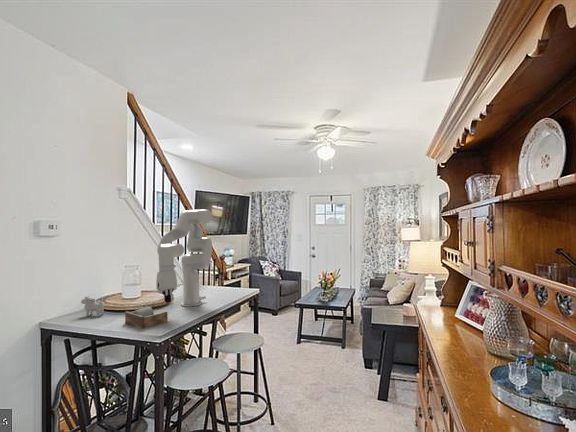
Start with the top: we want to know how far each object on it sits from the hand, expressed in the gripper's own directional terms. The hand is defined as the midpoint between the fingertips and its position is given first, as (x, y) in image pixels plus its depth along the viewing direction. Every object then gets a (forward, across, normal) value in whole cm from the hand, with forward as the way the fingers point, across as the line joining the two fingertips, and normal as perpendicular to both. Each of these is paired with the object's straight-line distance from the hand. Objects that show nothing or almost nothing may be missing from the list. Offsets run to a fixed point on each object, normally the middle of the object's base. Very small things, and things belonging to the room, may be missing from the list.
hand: (167, 302), depth 182 cm
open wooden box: (+7, +13, +1) cm, 15 cm away
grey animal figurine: (+8, +24, -38) cm, 46 cm away
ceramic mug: (+8, +14, +2) cm, 16 cm away
